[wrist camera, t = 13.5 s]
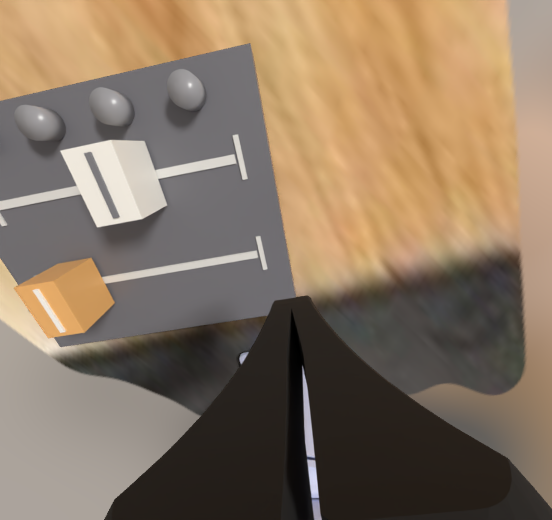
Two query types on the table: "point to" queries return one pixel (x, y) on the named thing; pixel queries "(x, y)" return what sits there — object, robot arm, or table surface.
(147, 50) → the table surface
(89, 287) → the fader
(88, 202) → the fader
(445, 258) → the table surface
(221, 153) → the mixer board
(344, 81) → the table surface
